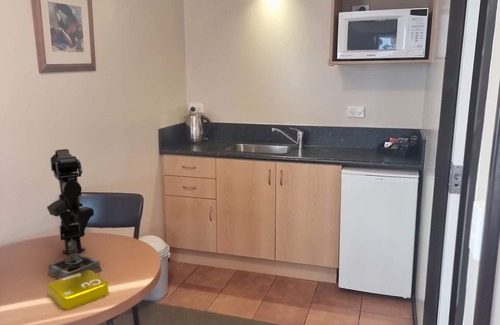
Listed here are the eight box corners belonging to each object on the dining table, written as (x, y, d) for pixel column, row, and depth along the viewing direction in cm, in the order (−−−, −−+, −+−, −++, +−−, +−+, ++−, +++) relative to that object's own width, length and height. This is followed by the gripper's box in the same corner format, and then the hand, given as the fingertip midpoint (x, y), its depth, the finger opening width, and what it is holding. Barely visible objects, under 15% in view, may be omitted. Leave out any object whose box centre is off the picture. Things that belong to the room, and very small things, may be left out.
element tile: (91, 280, 155) (89, 267, 154) (111, 295, 145) (109, 281, 144) (46, 295, 145) (45, 281, 144) (64, 312, 135) (63, 298, 134)
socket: (48, 275, 158) (47, 265, 158) (80, 262, 169) (79, 253, 168) (69, 284, 151) (68, 274, 150) (101, 270, 161) (100, 261, 160)
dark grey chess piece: (78, 264, 164) (74, 234, 161) (86, 269, 160) (83, 237, 158) (62, 270, 159) (59, 238, 157) (71, 274, 156) (67, 242, 153)
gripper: (35, 192, 160) (40, 233, 163) (64, 200, 149) (69, 243, 153) (63, 185, 169) (67, 224, 172) (93, 192, 158) (96, 234, 162)
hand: (74, 231), depth 164 cm, fingers open, 9 cm apart
